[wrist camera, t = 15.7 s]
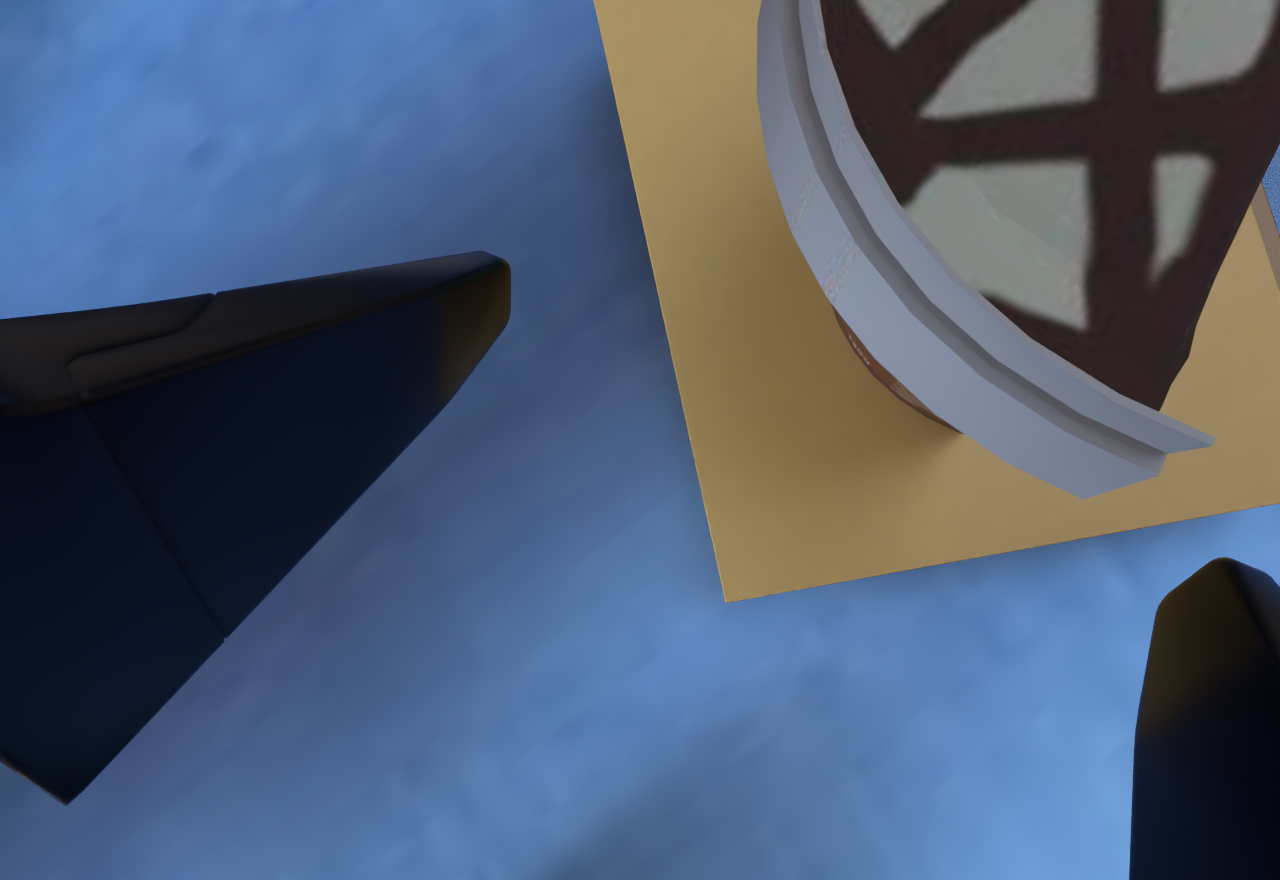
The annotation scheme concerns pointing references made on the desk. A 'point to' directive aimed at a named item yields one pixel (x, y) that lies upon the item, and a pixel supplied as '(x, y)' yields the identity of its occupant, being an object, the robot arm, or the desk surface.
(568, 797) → the desk surface
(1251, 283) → the book
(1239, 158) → the food container
